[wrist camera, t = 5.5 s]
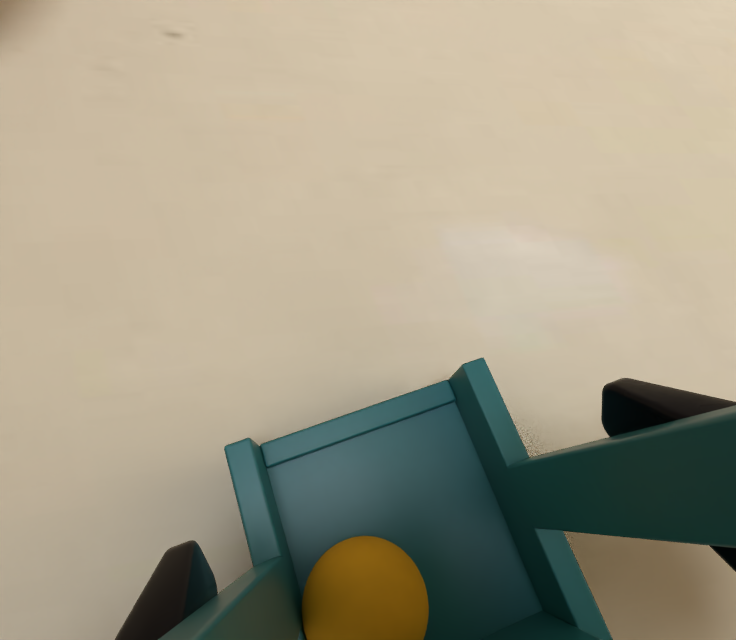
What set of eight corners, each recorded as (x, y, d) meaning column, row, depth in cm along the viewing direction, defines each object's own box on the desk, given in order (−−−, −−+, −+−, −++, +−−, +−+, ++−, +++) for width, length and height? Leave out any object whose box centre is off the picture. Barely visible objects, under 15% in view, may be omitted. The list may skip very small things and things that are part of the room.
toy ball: (474, 598, 11) (365, 636, 9) (425, 689, 12) (318, 739, 10) (401, 502, 13) (302, 517, 11) (365, 584, 14) (269, 610, 12)
